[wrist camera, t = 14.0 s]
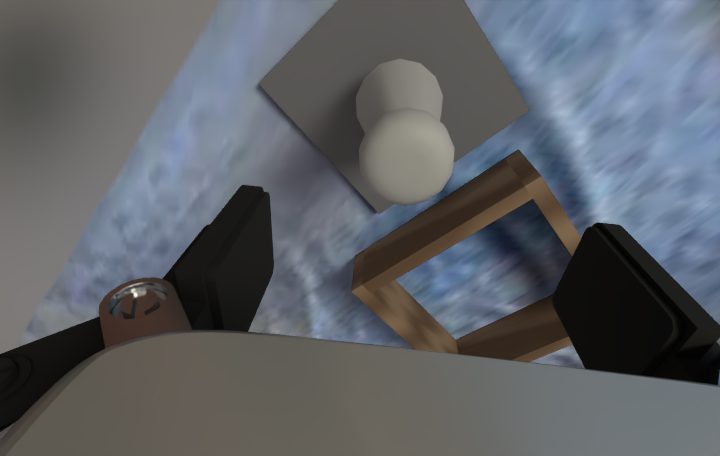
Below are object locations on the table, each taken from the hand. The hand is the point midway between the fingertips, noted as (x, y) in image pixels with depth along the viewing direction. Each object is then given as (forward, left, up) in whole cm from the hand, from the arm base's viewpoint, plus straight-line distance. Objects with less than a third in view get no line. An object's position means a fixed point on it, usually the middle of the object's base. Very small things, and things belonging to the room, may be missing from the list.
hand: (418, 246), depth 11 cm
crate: (-18, +4, -19) cm, 26 cm away
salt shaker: (0, 0, -19) cm, 19 cm away
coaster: (0, 0, -19) cm, 19 cm away
